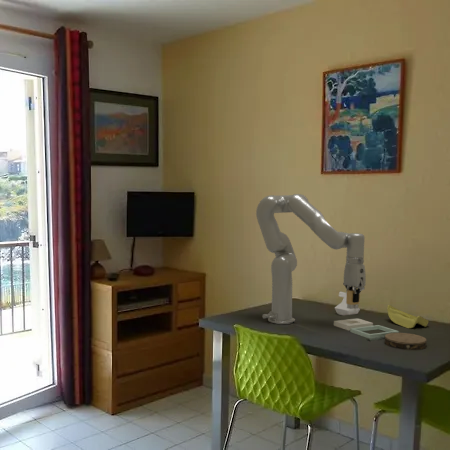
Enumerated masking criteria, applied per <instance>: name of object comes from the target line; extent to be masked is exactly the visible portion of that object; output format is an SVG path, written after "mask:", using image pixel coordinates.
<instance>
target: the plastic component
mask: <svg viewBox="0 0 450 450" xmlns="http://www.w3.org/2000/svg"><path fill="white" fill-rule="evenodd" d="M387 315H388V317H389V319H390V320H391V322H393V323H394V324H396V325H399V327H400V326H401V327H403V328H407V329H409V330H410V329H413V328H415V326H416V325H419V326H421V327H424V328H427V326H428V324H429V320H428V319H426V318H424V317H422V316H421V315H418V316H416V315H413V314H410V313H407V312H406V311H405V312H404V311H403V310H400V309H398V308H396V307H394V306H392V305H390V304H388V305H387Z"/></svg>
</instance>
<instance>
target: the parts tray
mask: <svg viewBox="0 0 450 450" xmlns="http://www.w3.org/2000/svg"><path fill="white" fill-rule="evenodd" d="M373 330H374V331H375V330H380V331H381V332H379V333H368V332H369V331H373ZM349 331H350V332H349V333H352V334H355V335H358V336H361V337H364V338H367V341H369V342H372V341H380V340H385V335H386V334H389V333H400V331H399V330H396V329H392V328H390V327H386V326H384V325H379V324H377V325H373V326H367V327H359V328H351V330H349ZM367 331H368V332H367Z"/></svg>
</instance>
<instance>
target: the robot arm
mask: <svg viewBox="0 0 450 450" xmlns="http://www.w3.org/2000/svg"><path fill="white" fill-rule="evenodd" d="M255 211H256V213H255V215H256V219H257V223H258V225H259V230H260V232H261V235H262V238H263V241H264V243H265V246H266V247H265V248H266V249H267V250H268V251H269V252H270V253H273V254H274V255H275V257H274V258H273V259H272V262H271V266H270V268H271V269H270V272H271V284H272V285H271V311H270V310H269V313H264V314H262V319H267V321H268V322H270V323H272V324H278V325H289V324H294V323H295V321H296V318H294V317H293V274H292V273H293V272H294V271H295V269H296V268H297V266H298V260H297V256H296V253H295V251H294V248H293V246H292V243H291V240H290V238H289V237H288V235H287V234H286V233H284V232H281V230H280V227H279V224H278V221H277V220H276V217H275V214H279V213H281V214H283V213H285V214H287V213H293V214H294V215H295V216H296V217H297V218H298V219H300V220H301V221H302V223H304V224H305V225H307V226H308V228H309V229H310V230H311V231H312V232H313V233H314V234H315V235H316V236H317V237H318V238H319V239H320V240H321V241H322V242H323V243H325V244H326V245H327V246H328V247H329V248H331V249H332V250H341V249H345V248H346V257H345V258H346V260H345V265H344V271H343V282H342V283H343V286H344V287H345V289H346V291H347V290H353V288H354V294H353V303H355V302H359V294H360V295H361V292H362V291H364V290H365V286H366V284H367V283H366V268H365V267H366V266H365V264H364V263H365V260H364V257H365V238H366V237H365V235H364V234H363V233H360V232H359V233H358V232H356V233H355V232H354V233H353V232H343V231H337V230H336V229H335V228H334V227H333V226H332V225H331V224H330V223H328V221H327V220H326V219H325V217H324V214H323V213H322V212H321V211H320V210H318V208H316V207H315V206H314V205H313V204H312V203H310V201H309V199H308V198H307V197H306V195H304V194H301V193H294V194H288V195H274V194H271V195H266V196H264V197H263V198H261V200H260V201H259V203H258V205H257V206H256V210H255Z"/></svg>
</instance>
